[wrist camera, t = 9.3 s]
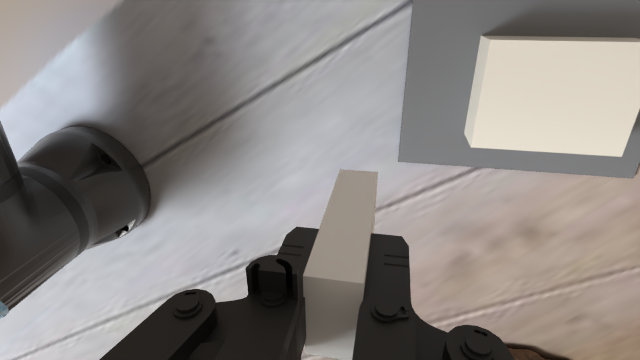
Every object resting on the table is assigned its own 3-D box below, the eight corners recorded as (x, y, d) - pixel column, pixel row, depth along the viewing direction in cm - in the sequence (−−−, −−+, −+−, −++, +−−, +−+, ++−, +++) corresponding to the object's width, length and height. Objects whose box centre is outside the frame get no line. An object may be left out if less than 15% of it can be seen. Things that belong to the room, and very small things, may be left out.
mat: (398, 160, 40) (398, 161, 40) (414, -9, 33) (414, -9, 33) (631, 176, 36) (633, 178, 36) (704, -10, 29) (708, -11, 29)
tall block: (470, 147, 33) (621, 156, 31) (490, 39, 30) (664, 42, 28) (464, 133, 37) (599, 140, 35) (480, 35, 33) (634, 37, 31)
